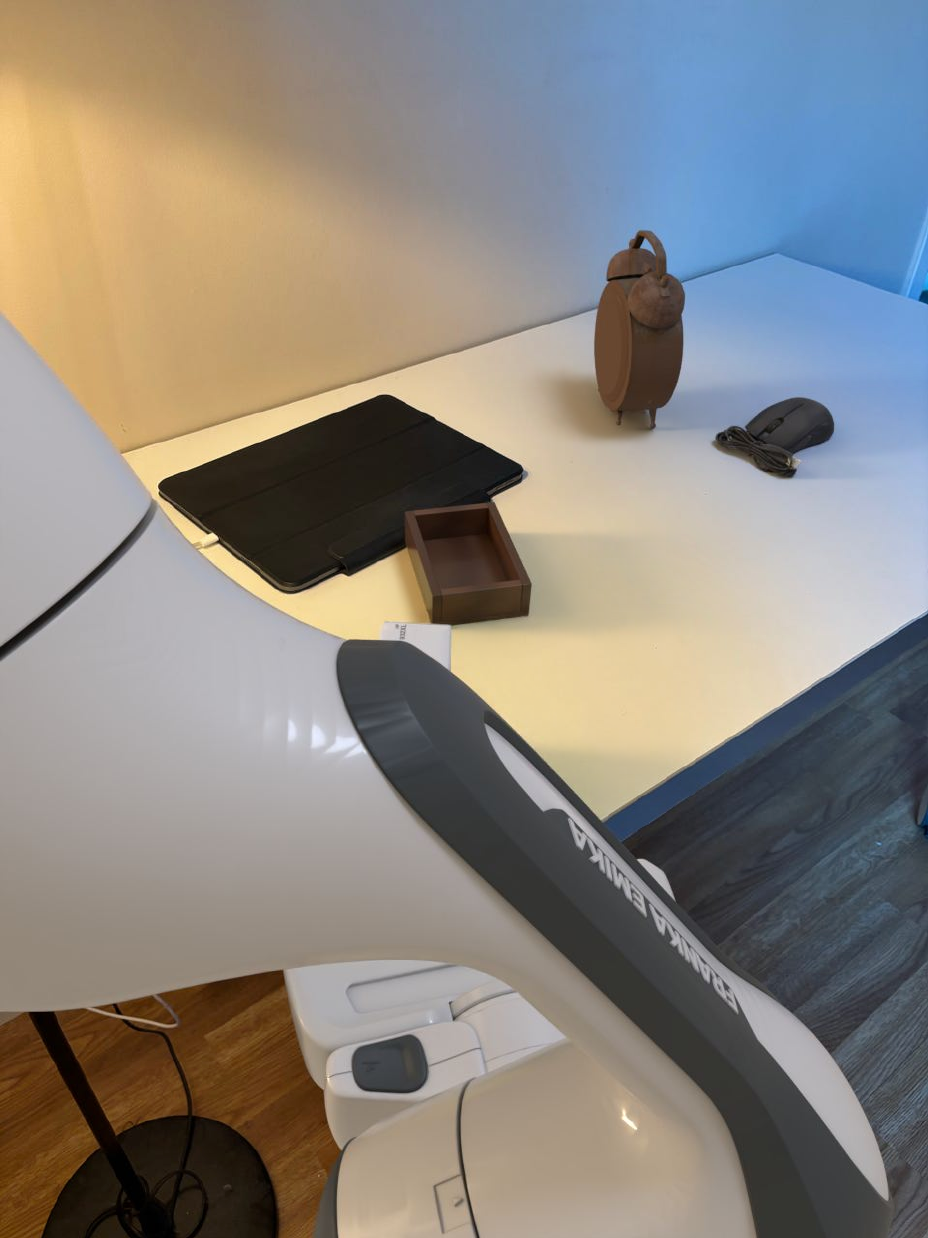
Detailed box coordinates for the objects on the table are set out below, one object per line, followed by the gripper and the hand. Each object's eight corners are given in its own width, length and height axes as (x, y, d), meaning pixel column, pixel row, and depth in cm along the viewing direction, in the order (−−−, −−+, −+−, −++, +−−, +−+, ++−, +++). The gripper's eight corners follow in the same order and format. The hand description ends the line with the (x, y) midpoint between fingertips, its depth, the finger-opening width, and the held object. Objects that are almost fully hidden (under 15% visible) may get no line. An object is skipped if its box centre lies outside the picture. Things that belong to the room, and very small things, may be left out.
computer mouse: (859, 439, 108) (870, 408, 105) (785, 483, 100) (795, 451, 98) (784, 405, 113) (792, 375, 111) (708, 444, 106) (716, 413, 103)
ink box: (445, 832, 65) (449, 713, 57) (373, 829, 65) (367, 710, 57) (449, 739, 72) (453, 620, 64) (384, 736, 72) (380, 618, 64)
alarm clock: (677, 440, 106) (713, 260, 93) (614, 443, 105) (642, 262, 92) (639, 380, 117) (667, 211, 104) (582, 382, 116) (603, 212, 103)
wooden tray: (432, 627, 81) (432, 596, 79) (405, 541, 90) (404, 511, 88) (528, 615, 83) (531, 583, 81) (492, 532, 92) (494, 501, 90)
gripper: (746, 998, 43) (636, 768, 53) (291, 1099, 39) (266, 830, 49) (718, 1061, 47) (621, 836, 57) (304, 1158, 43) (278, 898, 54)
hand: (454, 834), depth 53 cm, fingers open, 8 cm apart
